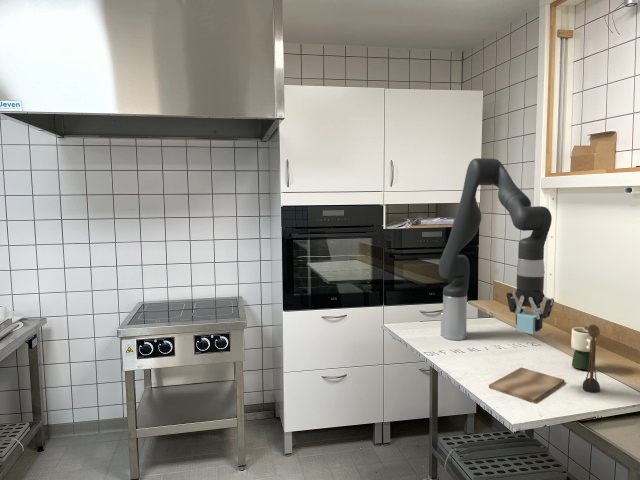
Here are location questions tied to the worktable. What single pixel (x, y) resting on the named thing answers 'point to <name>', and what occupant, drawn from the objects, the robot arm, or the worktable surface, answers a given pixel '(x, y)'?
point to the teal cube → (526, 322)
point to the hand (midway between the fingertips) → (528, 328)
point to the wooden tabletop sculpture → (592, 361)
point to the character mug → (581, 348)
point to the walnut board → (527, 384)
